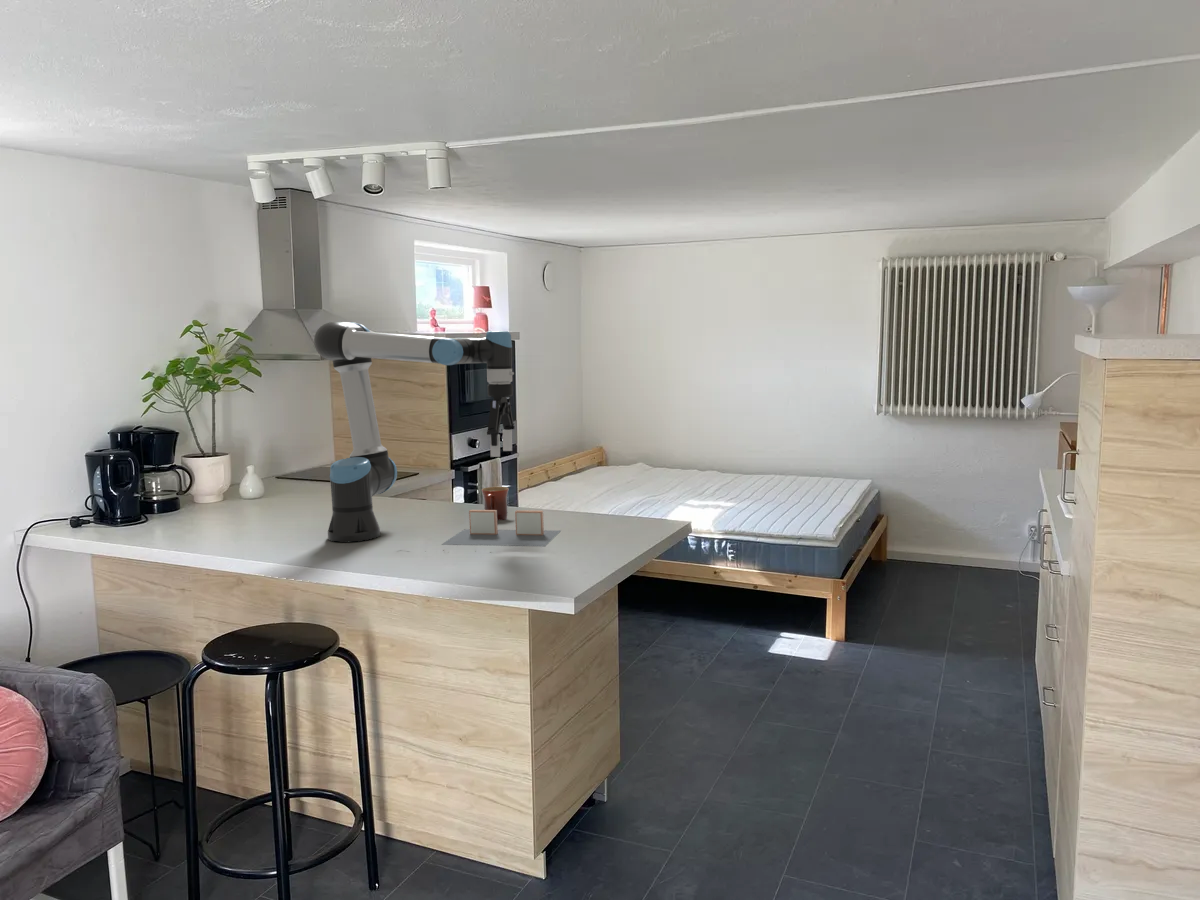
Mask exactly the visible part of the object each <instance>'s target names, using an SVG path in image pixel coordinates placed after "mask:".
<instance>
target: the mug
mask: <svg viewBox="0 0 1200 900" xmlns="http://www.w3.org/2000/svg"><path fill="white" fill-rule="evenodd" d="M508 492H509V487H507V486H489V487H484V488H481V494H482V496H483V501H484V502H483V504H484V506H483V507H484V509H483V510H497V521H505V520H506V519H508V502H507V500H508Z"/></svg>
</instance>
